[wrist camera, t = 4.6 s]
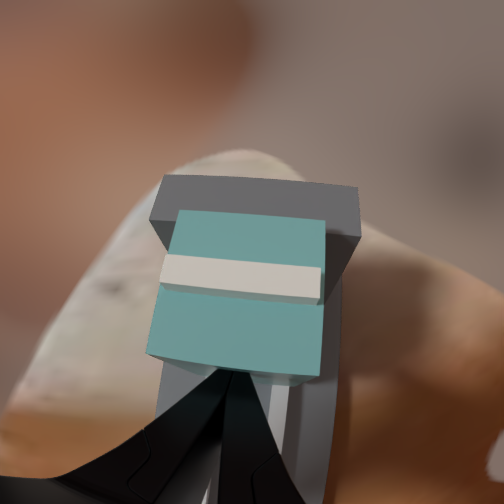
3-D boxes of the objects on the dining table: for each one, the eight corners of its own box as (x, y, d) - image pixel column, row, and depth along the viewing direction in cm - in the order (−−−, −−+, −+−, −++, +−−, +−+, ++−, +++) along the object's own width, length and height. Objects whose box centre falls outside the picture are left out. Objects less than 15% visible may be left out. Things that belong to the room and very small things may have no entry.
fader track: (311, 540, 11) (340, 624, 3) (150, 517, 12) (73, 575, 4) (338, 277, 18) (383, 186, 10) (188, 264, 19) (142, 170, 11)
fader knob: (292, 387, 14) (323, 373, 6) (203, 376, 14) (136, 349, 7) (299, 303, 16) (328, 208, 8) (216, 295, 16) (174, 198, 9)
